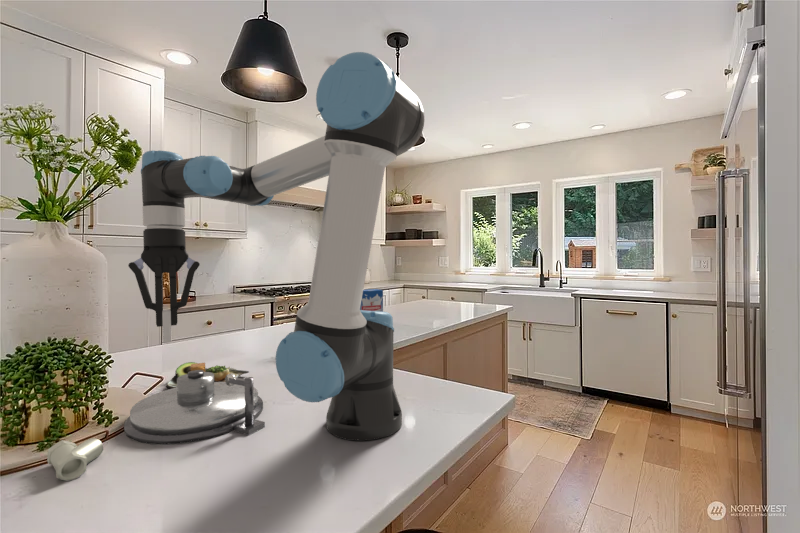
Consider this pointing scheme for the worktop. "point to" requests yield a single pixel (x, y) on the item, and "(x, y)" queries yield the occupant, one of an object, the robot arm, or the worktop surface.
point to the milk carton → (372, 300)
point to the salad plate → (218, 371)
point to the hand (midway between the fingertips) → (167, 341)
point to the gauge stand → (246, 405)
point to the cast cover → (195, 388)
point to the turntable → (189, 410)
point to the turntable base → (185, 437)
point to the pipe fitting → (73, 457)
